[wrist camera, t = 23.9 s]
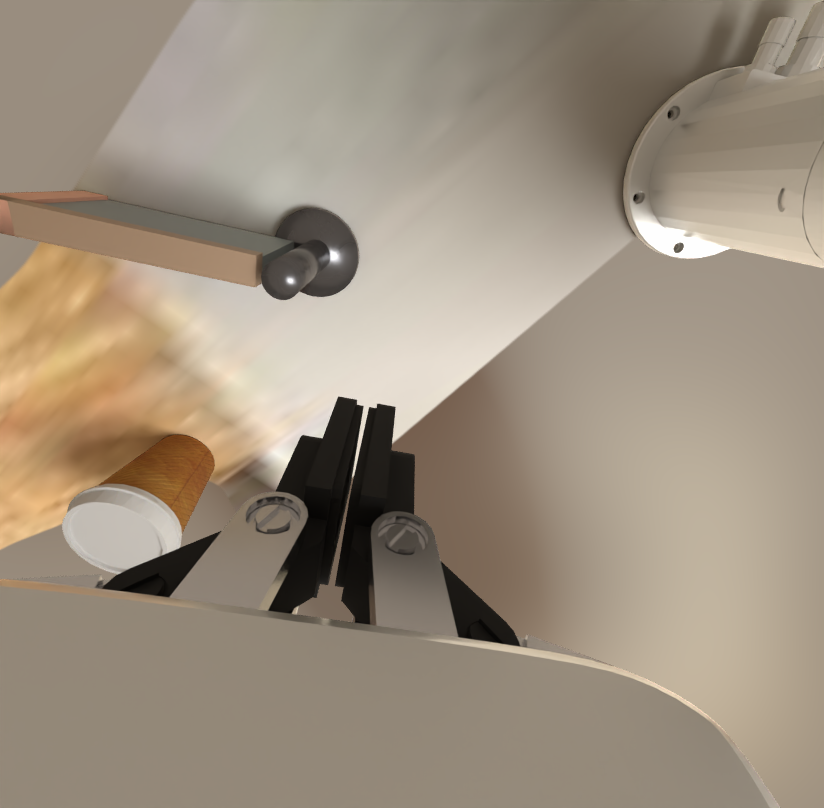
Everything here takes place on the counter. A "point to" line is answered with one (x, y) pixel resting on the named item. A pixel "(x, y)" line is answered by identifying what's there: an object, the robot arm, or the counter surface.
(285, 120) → the counter surface
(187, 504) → the disposable coffee cup
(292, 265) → the hinge post
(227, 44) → the counter surface
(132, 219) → the bar
